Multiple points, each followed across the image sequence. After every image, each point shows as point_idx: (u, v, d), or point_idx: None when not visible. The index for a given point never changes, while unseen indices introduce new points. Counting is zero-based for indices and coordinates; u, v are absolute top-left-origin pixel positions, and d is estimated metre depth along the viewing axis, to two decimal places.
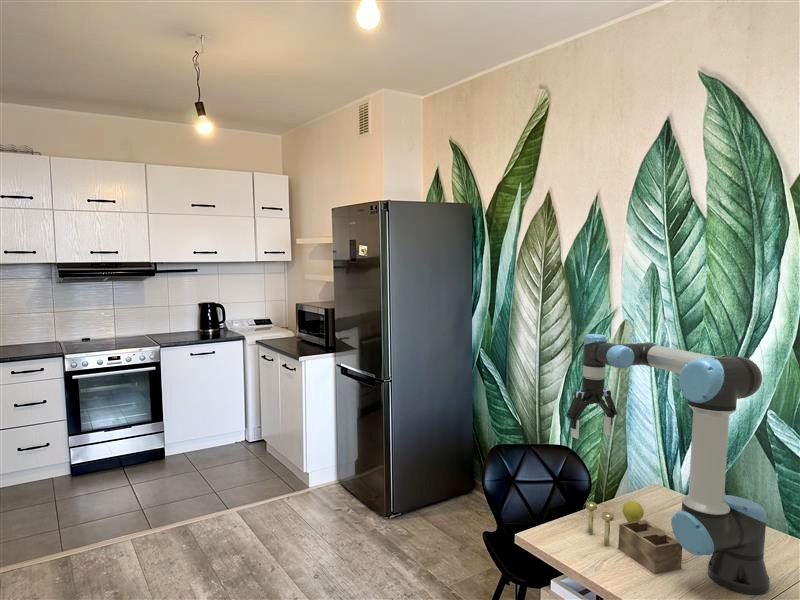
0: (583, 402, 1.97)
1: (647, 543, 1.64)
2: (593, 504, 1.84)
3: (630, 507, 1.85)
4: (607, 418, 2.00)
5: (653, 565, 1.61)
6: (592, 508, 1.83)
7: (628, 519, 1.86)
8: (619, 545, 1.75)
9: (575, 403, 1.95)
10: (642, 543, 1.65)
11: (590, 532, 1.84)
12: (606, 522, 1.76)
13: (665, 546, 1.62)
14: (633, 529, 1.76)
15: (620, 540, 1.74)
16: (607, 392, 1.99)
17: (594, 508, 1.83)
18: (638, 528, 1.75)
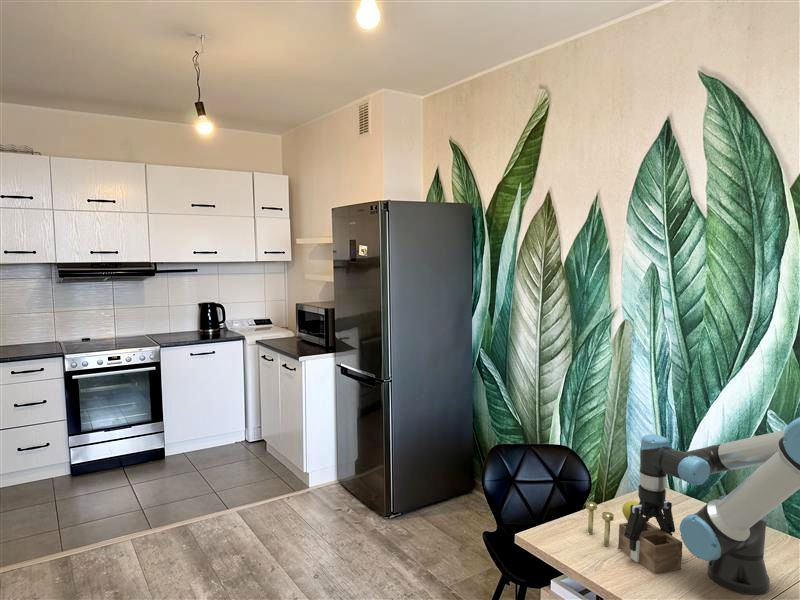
0: (641, 517, 1.68)
1: (647, 543, 1.64)
2: (593, 504, 1.84)
3: None
4: None
5: (653, 565, 1.61)
6: (592, 508, 1.83)
7: None
8: (619, 545, 1.75)
9: (633, 521, 1.66)
10: (642, 543, 1.65)
11: (590, 532, 1.84)
12: (606, 522, 1.76)
13: (665, 546, 1.62)
14: None
15: (620, 540, 1.74)
16: (667, 504, 1.70)
17: (594, 508, 1.83)
18: None
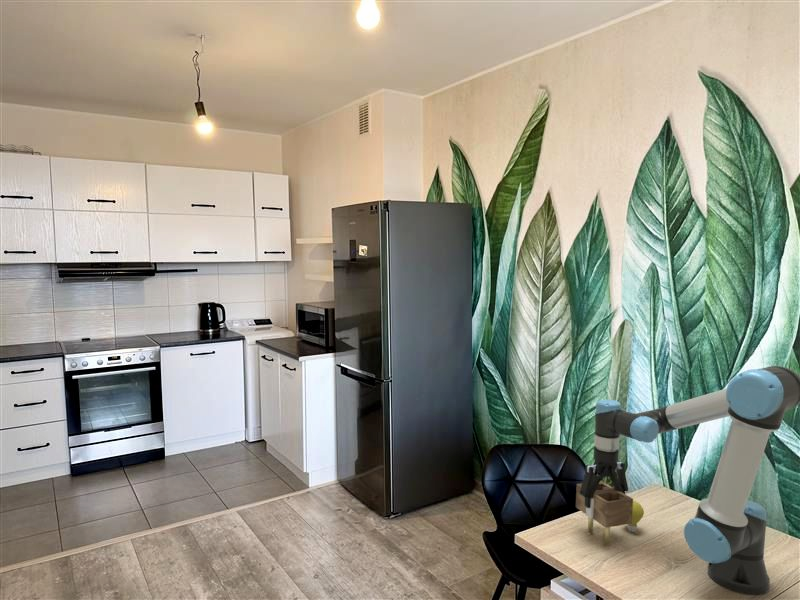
0: (596, 476, 1.79)
1: (600, 499, 1.75)
2: None
3: None
4: None
5: (605, 519, 1.73)
6: None
7: None
8: (576, 504, 1.86)
9: (587, 479, 1.77)
10: (596, 500, 1.77)
11: (590, 532, 1.84)
12: None
13: (616, 502, 1.73)
14: None
15: (577, 499, 1.86)
16: (621, 465, 1.81)
17: None
18: None
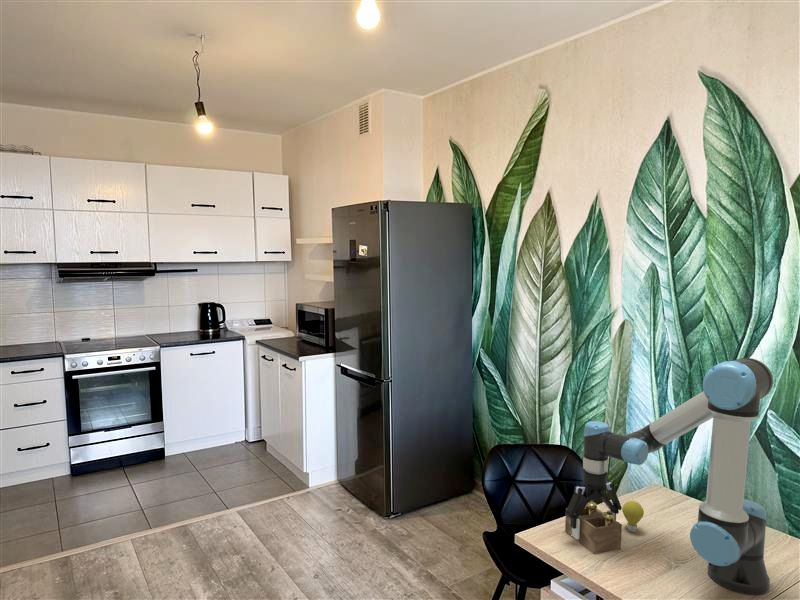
0: (584, 498, 1.78)
1: (588, 525, 1.74)
2: (593, 504, 1.84)
3: (630, 507, 1.85)
4: None
5: (593, 546, 1.72)
6: (592, 508, 1.83)
7: (628, 519, 1.86)
8: (566, 528, 1.85)
9: (575, 500, 1.76)
10: (584, 525, 1.76)
11: None
12: (606, 522, 1.76)
13: (605, 528, 1.72)
14: None
15: (566, 523, 1.85)
16: (610, 485, 1.80)
17: (594, 508, 1.83)
18: (584, 512, 1.86)
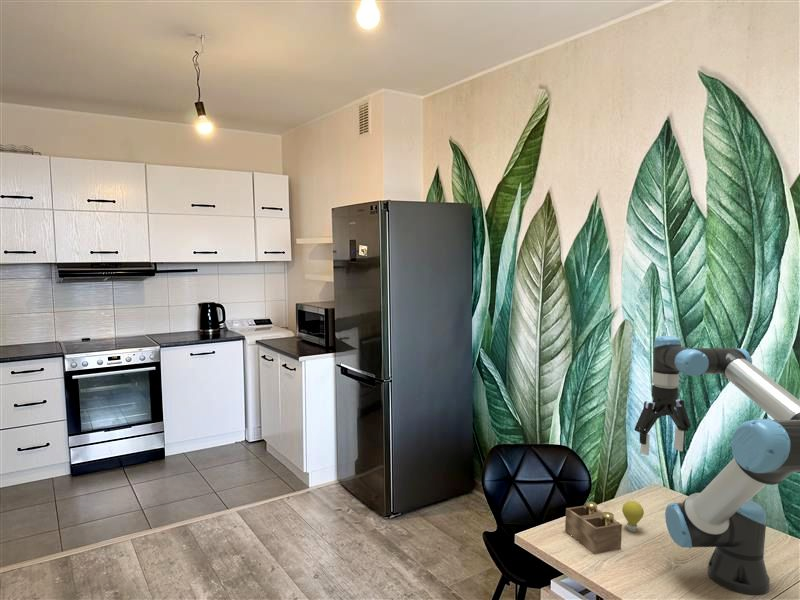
0: (653, 414, 1.73)
1: (588, 525, 1.74)
2: (593, 504, 1.84)
3: (630, 507, 1.85)
4: (679, 432, 1.76)
5: (593, 546, 1.72)
6: (592, 508, 1.83)
7: (628, 519, 1.86)
8: (566, 528, 1.85)
9: (645, 415, 1.71)
10: (584, 525, 1.76)
11: None
12: (606, 522, 1.76)
13: (605, 528, 1.72)
14: (579, 513, 1.86)
15: (566, 523, 1.85)
16: (680, 402, 1.75)
17: (594, 508, 1.83)
18: (584, 512, 1.86)
